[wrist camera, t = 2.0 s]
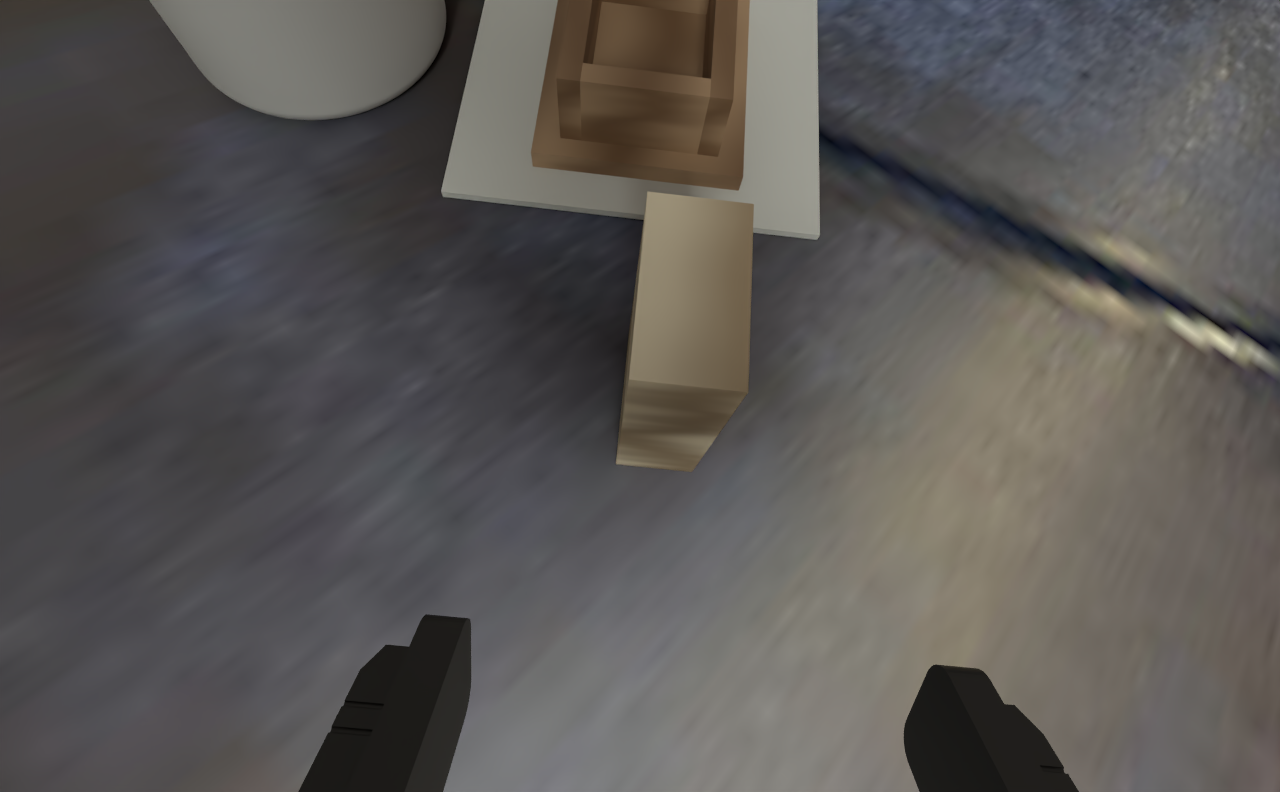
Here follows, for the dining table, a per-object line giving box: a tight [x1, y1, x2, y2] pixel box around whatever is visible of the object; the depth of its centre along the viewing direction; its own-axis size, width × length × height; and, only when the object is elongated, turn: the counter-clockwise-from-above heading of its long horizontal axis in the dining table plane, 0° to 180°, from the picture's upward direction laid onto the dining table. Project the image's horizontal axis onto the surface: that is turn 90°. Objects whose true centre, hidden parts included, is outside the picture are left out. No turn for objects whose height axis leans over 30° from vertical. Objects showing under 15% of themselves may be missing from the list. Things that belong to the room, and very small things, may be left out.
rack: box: [531, 0, 750, 191], centre depth 30 cm, size 10×12×4 cm
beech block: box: [616, 191, 754, 472], centre depth 22 cm, size 3×6×10 cm, turn 175°
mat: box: [441, 0, 820, 240], centre depth 32 cm, size 18×16×1 cm
